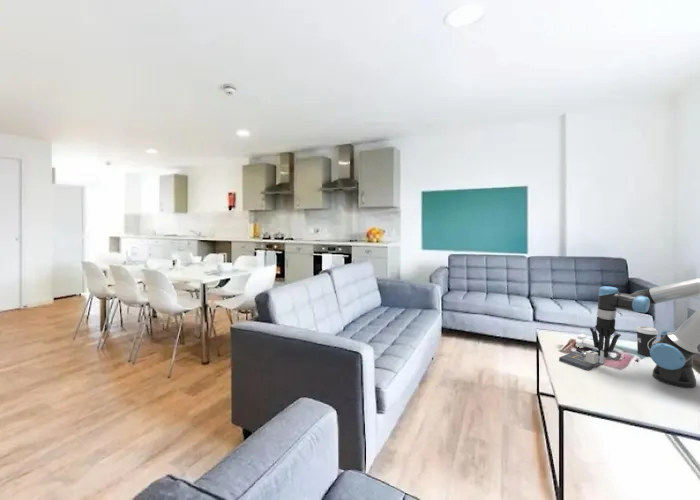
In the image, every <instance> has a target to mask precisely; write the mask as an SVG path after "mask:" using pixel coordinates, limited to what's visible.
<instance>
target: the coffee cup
mask: <svg viewBox="0 0 700 500" xmlns="http://www.w3.org/2000/svg"><path fill="white" fill-rule="evenodd" d="M635 330H636V336H637V337H636V341H637V342H636V343H637V344H636V345H637V347H636V348H637V354H638V355H641V356H645V357H651V356H650V350H651V347H652V346H653V345H655V344H656V343H657V342H656V341H657V337H658V335H659V332H658V330H657V329H656V328H655V327H651V326H647V325H646V326H645V325H638V326H637V327H636V329H635Z"/></svg>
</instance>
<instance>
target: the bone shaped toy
mask: <svg viewBox="0 0 700 500" xmlns="http://www.w3.org/2000/svg"><path fill="white" fill-rule="evenodd" d="M576 336H577V337H576V340H575V343H576V348H578V347H579V348H578V349H581V348H582V349H583V348H590V349H593V350H597V351H598V348H596V347H594V342H593V339H589V338H587V335H586V334H583V333H580V334H578V335H576ZM604 343H605V339H604ZM610 344H611V343H610ZM610 344H609V347H610ZM603 348H604V344H603ZM603 350H604V349H603ZM609 353H610V352H608V354H609Z"/></svg>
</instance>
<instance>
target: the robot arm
mask: <svg viewBox="0 0 700 500" xmlns="http://www.w3.org/2000/svg"><path fill="white" fill-rule="evenodd" d="M597 296H598V297H597V298H598V300H597V310H596V311H597V313H596V324H595V326H594V327H590V328H589V331H590V332H591V336H592V340H593V342H594V347H596V348H598V350H597V351H598V352H597V353H598V357H599V359H600V363H602V365H603V364H605V363H606V360H607V358H608V357H609V353H610V352H612V351H614V349H615V346H616V344H617V342H618V340H619V338H620V337H621V336H622V335H621V334H620V333H618V332H617V331H616V330H617V329H616V328H615V327H616V317H617V308H618V309H621V310H627V311H631V312H637V313H648V311H649V309H650V306H651V305H652V306H653V305H656V304H661V303H667V302H672V301H677V300H683V299H687V298H693V297H698V296H700V277H696V278H691V279H687V280H683V281H678V282H674V283H669V284H664V285H661V286H654V287H651V288H646V289H639V290H635V291H634V292H633V293H630V294H629V293H623V292H619V288H617V287H613V286H606V285H605V286H600V287H599V289H598V295H597ZM612 335H613V337H612V339H611V336H612ZM659 335H660V338H659V340H658V341H657V342H655V345H653V346H652V347H651V350H650V356H649V357H650V359H651V361H653V363H654V364H655V366H654V368H653V369H652V377H653V378H654V379H655V380H657V381H659V382H662V383H664V384H667V385H670V386H674V387H679V388H686V389H689V388H694V387H696V386H697V378H696V375H695V372H694V370H693V363H694V362H693V361H694V356H695V355H696V354H697V353H698V352H699V349H698V346H699V345H700V307H698V309H697V310H696V311H695V312H693V314H692V315H690V317H688V318H687V319H686V320H685V321H684V322H683V323H682V324H681V325H680V326H678V328H677V329H676V330H675V331H673V330H672V331H671V330H662V331H661V332H660V334H659ZM610 339H611V341H610ZM604 340H605V343H604ZM603 344H604V348H603ZM609 344H610V347H609ZM603 349H604V350H603ZM608 352H609V353H608Z"/></svg>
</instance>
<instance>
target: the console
mask: <svg viewBox="0 0 700 500" xmlns="http://www.w3.org/2000/svg"><path fill="white" fill-rule="evenodd" d="M586 352H587V351H582V352H579V351H572V352H569V353H567V354H565V355H561V356H559V357H558V362H561V363H564V364H567V365H569V366H572V367H575V368H578V369H581V370H584V371H587V372H588V371H590V370H591V371H592V370H593V369H594V368H597V367H600V366H602V365H603V364H602V363H600V358H598V362H597V363H595V364H592V363H589V362H586V361H585V359H586ZM601 364H602V365H601Z"/></svg>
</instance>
